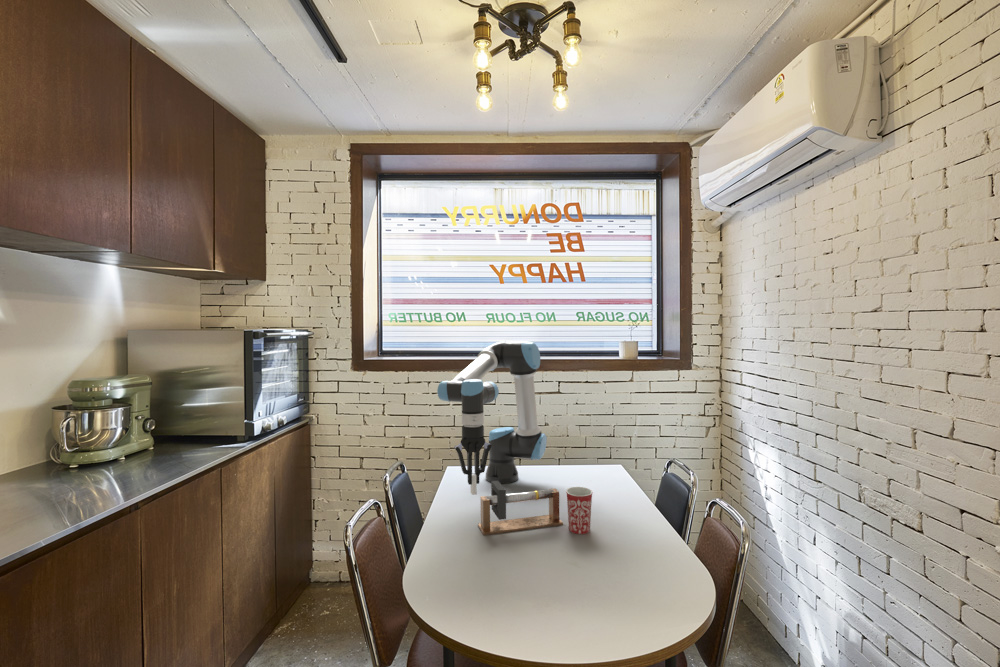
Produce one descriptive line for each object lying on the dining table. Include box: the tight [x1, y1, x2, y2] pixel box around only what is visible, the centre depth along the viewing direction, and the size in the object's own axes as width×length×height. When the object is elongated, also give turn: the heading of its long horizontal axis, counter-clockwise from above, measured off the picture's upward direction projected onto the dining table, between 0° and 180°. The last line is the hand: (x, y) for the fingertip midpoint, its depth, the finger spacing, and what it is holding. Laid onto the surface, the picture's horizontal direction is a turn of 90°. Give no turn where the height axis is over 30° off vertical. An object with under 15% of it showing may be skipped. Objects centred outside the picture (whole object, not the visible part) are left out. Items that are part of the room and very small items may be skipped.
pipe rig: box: [477, 488, 564, 536], centre depth 168 cm, size 29×8×12 cm, turn 106°
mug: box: [565, 486, 594, 535], centre depth 166 cm, size 13×9×14 cm
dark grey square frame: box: [490, 481, 507, 521], centre depth 166 cm, size 2×10×10 cm, turn 16°
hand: (473, 493), depth 164 cm, fingers closed
